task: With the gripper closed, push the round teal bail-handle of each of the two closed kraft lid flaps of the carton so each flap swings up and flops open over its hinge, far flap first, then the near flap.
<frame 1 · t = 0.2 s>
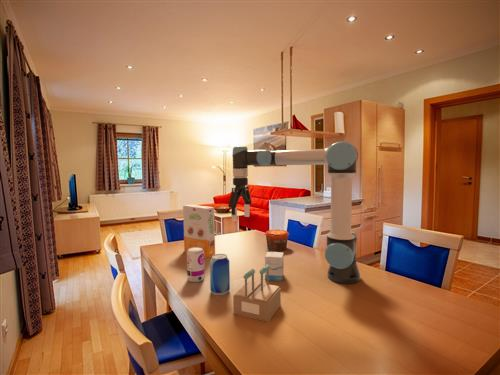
hand: (240, 218, 144), 28 cm above the table, fingers open, 13 cm apart
ink box: (274, 277, 139), on the table
food container: (277, 248, 189), on the table
cereal box: (199, 253, 179), on the table
near flap: (266, 281, 106), point 11 cm above the table, hinge at 0.0°
far flap: (248, 278, 109), point 11 cm above the table, hinge at 0.0°
supplement can: (196, 279, 137), on the table
beer can: (220, 292, 123), on the table
carton: (257, 309, 108), on the table
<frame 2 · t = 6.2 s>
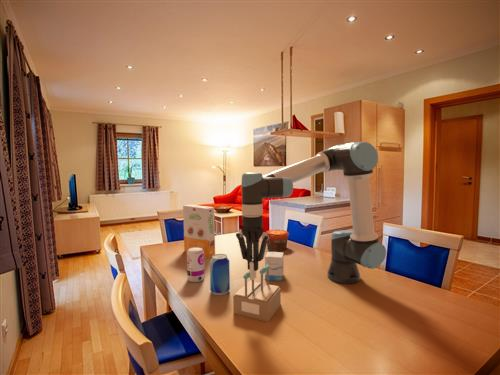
hand: (253, 278, 104), 13 cm above the table, fingers closed
far flap: (248, 278, 109), point 11 cm above the table, hinge at 0.3°, touching gripper
everything else where it was.
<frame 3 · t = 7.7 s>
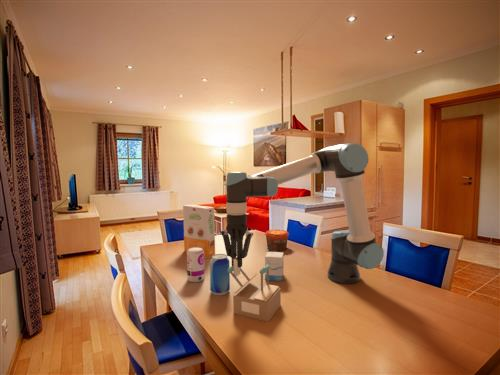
hand: (237, 275, 107), 14 cm above the table, fingers closed
far flap: (240, 274, 110), point 12 cm above the table, hinge at 44.9°, touching gripper
everything else where it was.
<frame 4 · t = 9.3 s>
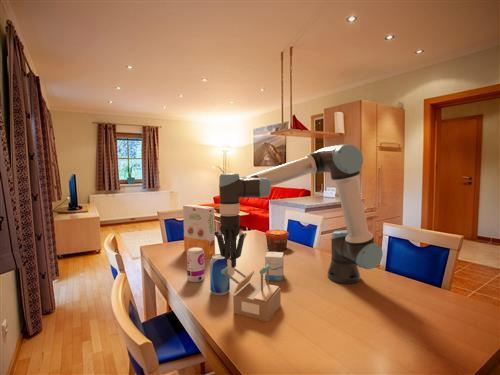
hand: (231, 275, 108), 13 cm above the table, fingers closed
far flap: (236, 275, 111), point 12 cm above the table, hinge at 63.6°, touching gripper
everything else where it was.
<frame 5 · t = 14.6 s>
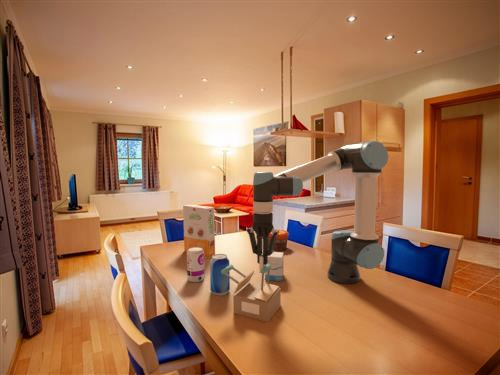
hand: (262, 271, 110), 14 cm above the table, fingers closed
near flap: (266, 281, 106), point 12 cm above the table, hinge at 3.9°, touching gripper
far flap: (236, 275, 111), point 12 cm above the table, hinge at 63.8°
everything else where it was.
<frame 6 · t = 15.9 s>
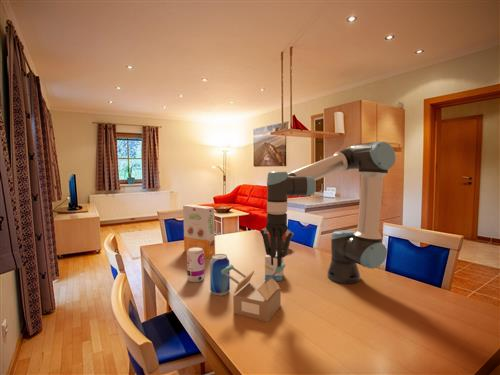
hand: (276, 273, 107), 14 cm above the table, fingers closed
near flap: (275, 280, 104), point 12 cm above the table, hinge at 42.7°, touching gripper
everything else where it was.
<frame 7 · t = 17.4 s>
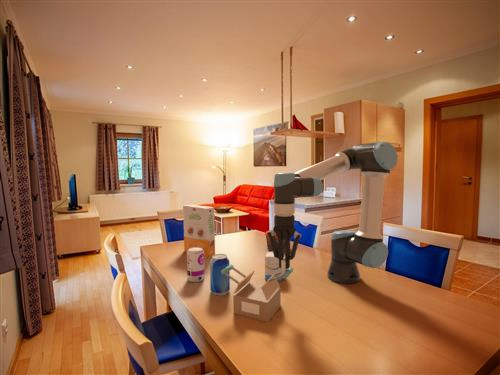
hand: (284, 276, 106), 13 cm above the table, fingers closed
near flap: (279, 282, 103), point 12 cm above the table, hinge at 64.2°, touching gripper
everything else where it was.
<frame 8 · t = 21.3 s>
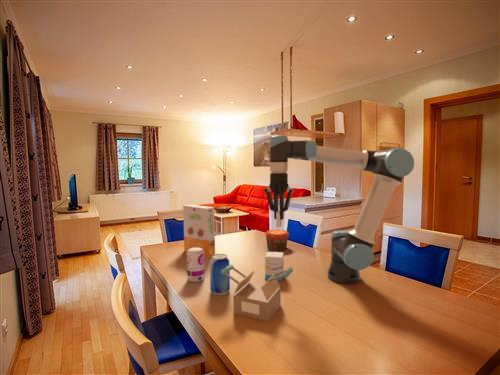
hand: (278, 226, 122), 28 cm above the table, fingers closed
near flap: (279, 282, 103), point 12 cm above the table, hinge at 64.3°
everything else where it was.
at the end: far flap at +64° (first picture: +0°); near flap at +64° (first picture: +0°) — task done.
